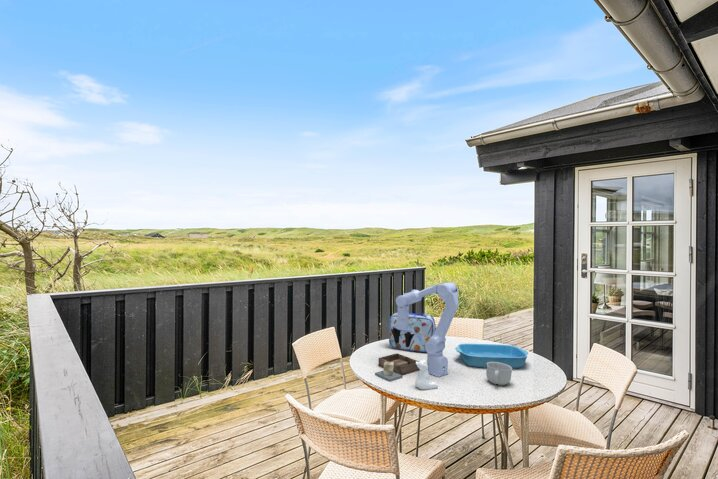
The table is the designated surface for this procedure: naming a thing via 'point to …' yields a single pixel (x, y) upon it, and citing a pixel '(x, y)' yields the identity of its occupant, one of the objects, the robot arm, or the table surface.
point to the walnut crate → (400, 363)
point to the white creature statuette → (424, 377)
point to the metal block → (388, 368)
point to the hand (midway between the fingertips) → (402, 345)
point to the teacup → (498, 373)
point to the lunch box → (422, 333)
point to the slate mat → (388, 378)
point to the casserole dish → (492, 354)
